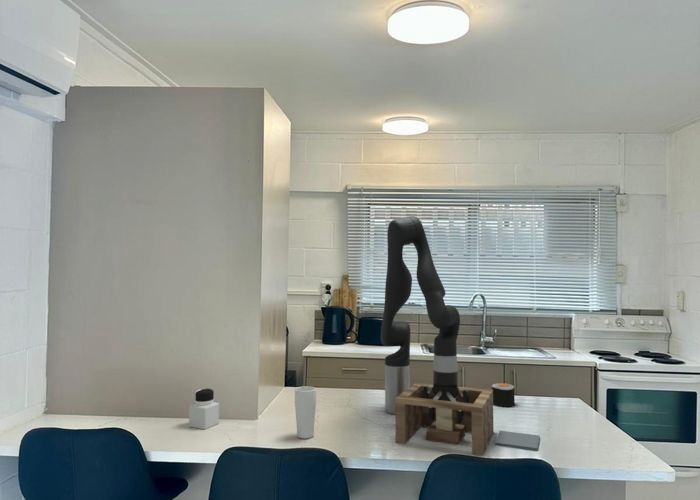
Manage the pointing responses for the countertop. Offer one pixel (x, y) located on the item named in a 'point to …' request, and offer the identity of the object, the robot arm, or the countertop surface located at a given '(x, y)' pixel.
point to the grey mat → (517, 440)
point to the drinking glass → (305, 411)
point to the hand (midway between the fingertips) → (445, 420)
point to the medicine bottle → (204, 410)
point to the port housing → (416, 408)
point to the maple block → (445, 419)
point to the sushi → (503, 395)
